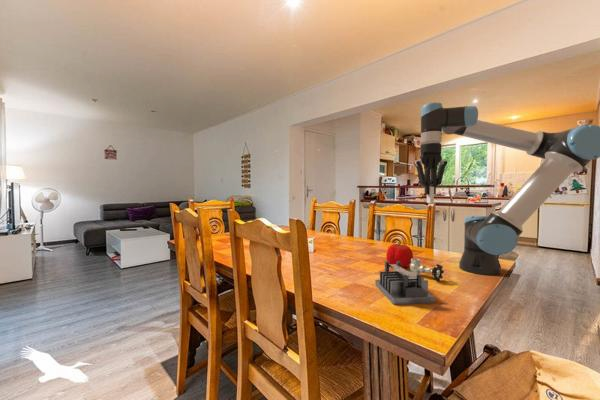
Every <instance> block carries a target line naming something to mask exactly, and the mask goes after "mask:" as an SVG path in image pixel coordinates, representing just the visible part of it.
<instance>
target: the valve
mask: <svg viewBox="0 0 600 400" xmlns="http://www.w3.org/2000/svg"><path fill="white" fill-rule="evenodd" d="M443 267H444V266H443V265H441V264H438V263H437V264H436V265H435V266H434V267H433V268H432V269H431V268H429V267H426V266H425V265H423V264H421V259H420V258H416V257H413V258H412V259H411V263H410V265H409V268H410V271H414V272H417V274H420V275H421V274H425V273H428V274H431V275H432V276H433V281H436V282H441V279H443V274H444V272H445V271H444V270H443Z"/></svg>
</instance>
